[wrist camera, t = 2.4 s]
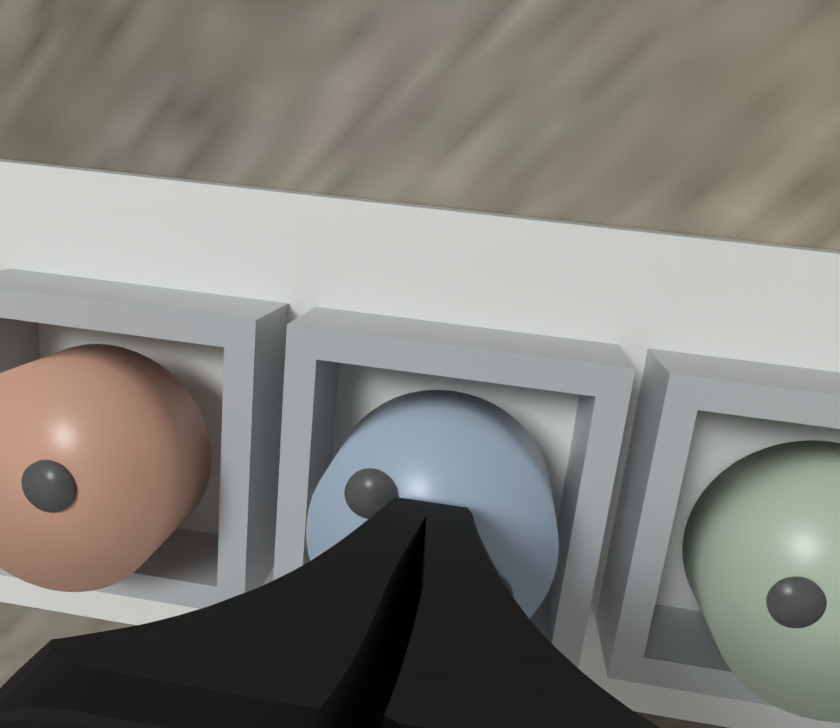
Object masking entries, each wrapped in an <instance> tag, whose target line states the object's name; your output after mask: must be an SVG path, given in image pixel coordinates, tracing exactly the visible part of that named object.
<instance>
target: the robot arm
mask: <svg viewBox="0 0 840 728" xmlns="http://www.w3.org/2000/svg"><path fill="white" fill-rule="evenodd" d="M0 728H659V727H658V726H656V725H655V724H653V723H651V722H650V721H648V720H646V719H645V718H643V717H641V716H640V715H638V714H637V713H635V712H634V711H632V710H631V709H630V708H628V707H627V706H626V705H624V704H623V703H622V702H620V701H619V700H617V699H616V698H615V697H613V696H612V695H611V694H609V693H608V692H607V691H605V690H604V689H603V688H601V687H600V686H599V685H598V684H596V683H595V682H594V681H593V680H591V679H590V678H589V677H588V676H587V675H585V674H584V673H583V672H582V671H581V670H579V669H578V668H577V667H576V666H575V665H574V664H573V663H572V662H571V661H570V660H569V659H568V658H567V657H565V656H564V655H563V654H562V653H561V652H560V651H559V650H558V649H557V648H556V647H555V646H554V645H553V644H552V643H551V642H550V641H549V640H548V639H547V638H546V637H545V636H544V635H543V634H542V633H541V632H540V630H539V629H538V628H537V627H536V626H535V625H534V623H533V622H532V621H531V620H530V619H529V618H528V616H527V615H526V614H525V613H524V611H523V610H522V608H521V607H520V606H519V604H518V603H517V601H516V600H515V598H514V597H513V595H512V594H511V592H510V591H509V589H508V588H507V586H506V585H505V583H504V582H503V580H502V578H501V577H500V575H499V573H498V571H497V570H496V568H495V566H494V564H493V562H492V560H491V559H490V557H489V555H488V553H487V551H486V549H485V547H484V545H483V542H482V540H481V538H480V535H479V533H478V530H477V528H476V525H475V522H474V518H473V514H472V513H471V512H470V510H469V509H468V508H467V507H460V506H453V505H446V504H440V503H433V502H426V501H420V500H413V499H406V498H399V497H395V498H393V499H392V500H391V501H389V502H388V503H387V504H386V505H384V506H383V507H382V508H381V509H380V510H378V511H377V512H376V513H375V514H374V515H373V516H371V517H370V518H369V519H368V520H366V521H365V522H364V523H363V524H362V525H360V526H359V527H358V528H356V529H355V530H354V531H353V532H351V533H350V534H349V535H347V536H346V537H345V538H343V539H342V540H341V541H339V542H338V543H337V544H335V545H334V546H332V547H331V548H329V549H328V550H326V551H325V552H323V553H322V554H320V555H319V556H317V557H316V558H314V559H312V560H311V561H309V562H308V563H306V564H304V565H302V566H301V567H299V568H297V569H295V570H293V571H291V572H290V573H288V574H286V575H284V576H281V577H279V578H277V579H275V580H273V581H271V582H269V583H267V584H265V585H263V586H260V587H258V588H256V589H253V590H251V591H248V592H245V593H243V594H240V595H237V596H235V597H232V598H229V599H227V600H224V601H221V602H219V603H216V604H213V605H211V606H208V607H205V608H202V609H198V610H195V611H191V612H188V613H185V614H181V615H178V616H174V617H170V618H166V619H162V620H158V621H154V622H150V623H146V624H141V625H136V626H132V627H127V628H121V629H115V630H109V631H103V632H97V633H92V634H86V635H80V636H74V637H67V638H60V639H52V640H51V641H49V642H48V643H47V644H46V645H45V646H44V647H43V648H42V649H41V650H39V651H38V652H37V653H36V654H35V655H34V656H33V657H32V658H31V659H30V660H29V661H28V662H27V663H25V664H24V665H23V666H22V667H21V668H20V669H19V670H18V671H17V672H16V673H15V674H14V675H13V676H12V677H11V678H10V679H9V680H8V681H7V682H6V683H5V684H4V685H3V686H2V687H1V688H0Z"/></svg>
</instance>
